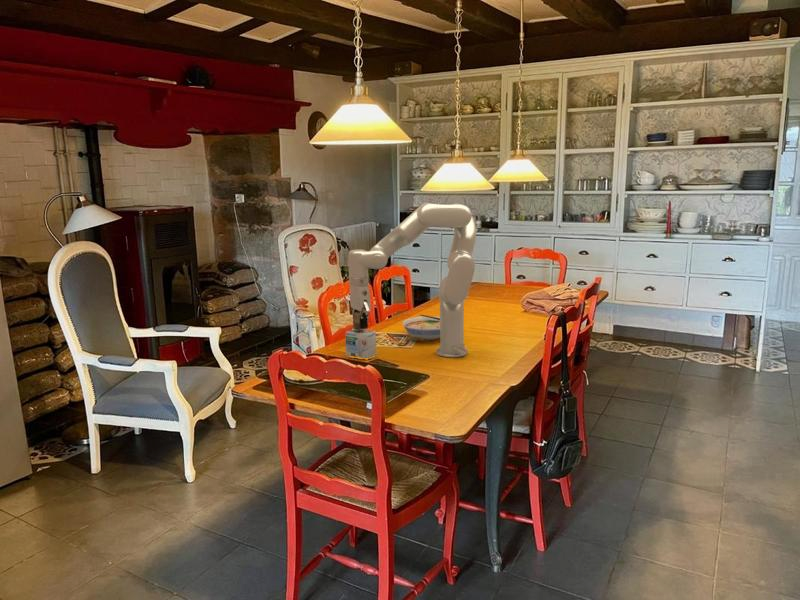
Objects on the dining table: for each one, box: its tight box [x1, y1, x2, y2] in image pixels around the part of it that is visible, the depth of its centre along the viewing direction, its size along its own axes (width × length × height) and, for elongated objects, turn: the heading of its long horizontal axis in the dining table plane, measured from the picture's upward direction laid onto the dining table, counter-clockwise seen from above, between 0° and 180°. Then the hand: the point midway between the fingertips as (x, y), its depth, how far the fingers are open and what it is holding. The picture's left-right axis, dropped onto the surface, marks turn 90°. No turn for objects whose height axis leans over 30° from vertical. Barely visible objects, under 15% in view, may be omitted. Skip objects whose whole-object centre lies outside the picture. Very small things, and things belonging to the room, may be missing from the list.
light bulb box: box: [344, 328, 377, 358], centre depth 236 cm, size 11×7×11 cm, turn 62°
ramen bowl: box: [402, 314, 440, 341], centre depth 261 cm, size 25×23×8 cm
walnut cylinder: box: [352, 312, 368, 330], centre depth 234 cm, size 6×6×6 cm
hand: (360, 325), depth 235 cm, fingers closed on walnut cylinder, 5 cm apart
